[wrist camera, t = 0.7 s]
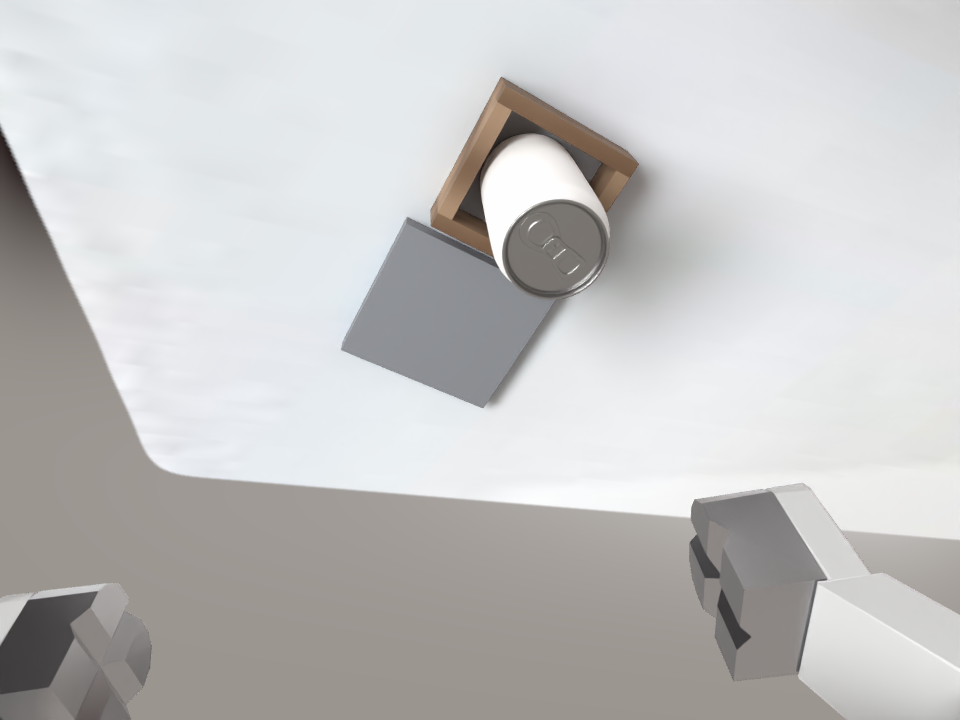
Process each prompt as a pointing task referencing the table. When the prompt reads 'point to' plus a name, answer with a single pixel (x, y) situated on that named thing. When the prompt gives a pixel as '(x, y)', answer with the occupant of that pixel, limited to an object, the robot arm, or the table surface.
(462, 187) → the square wooden frame
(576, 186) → the can
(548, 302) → the coaster
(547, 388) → the table surface
